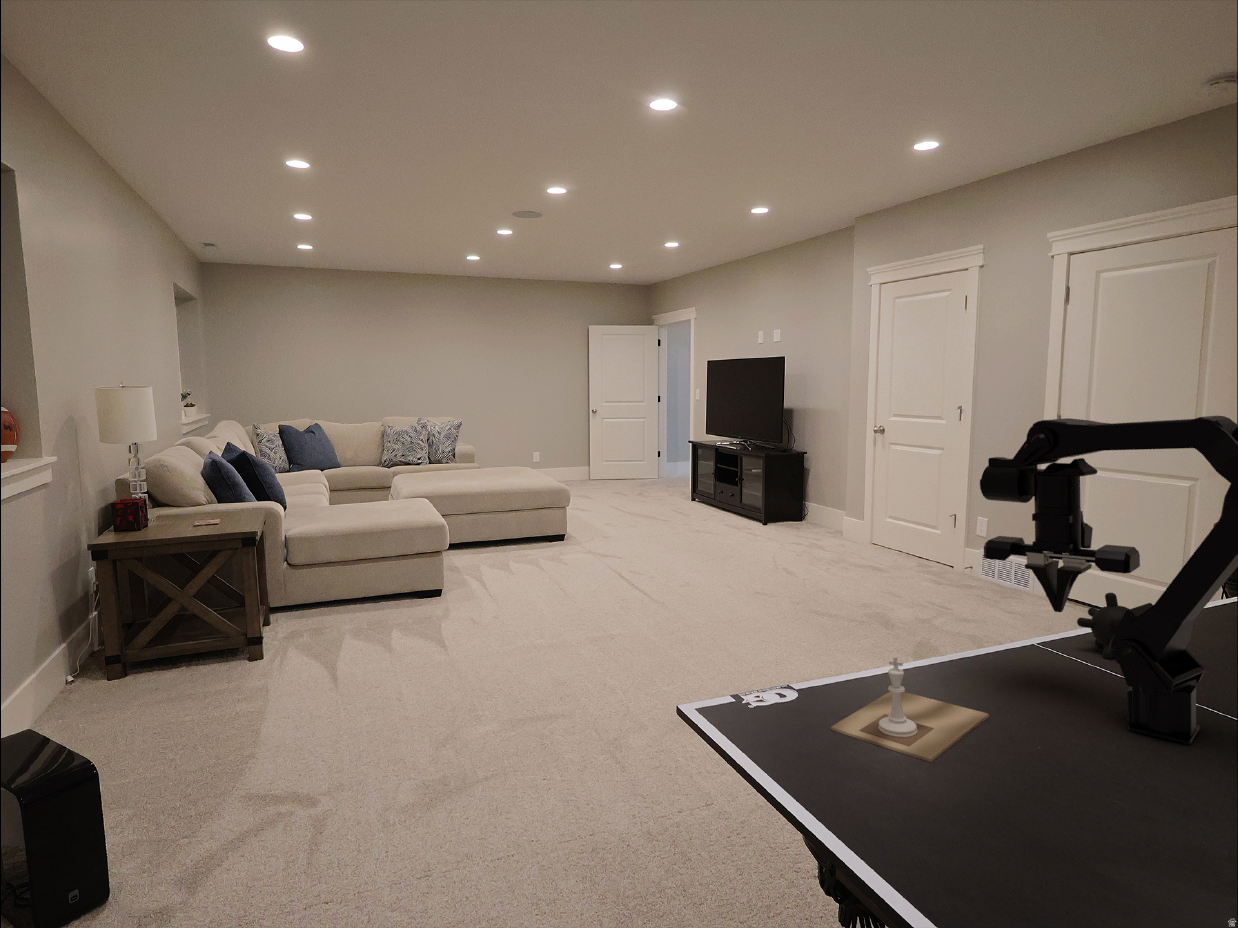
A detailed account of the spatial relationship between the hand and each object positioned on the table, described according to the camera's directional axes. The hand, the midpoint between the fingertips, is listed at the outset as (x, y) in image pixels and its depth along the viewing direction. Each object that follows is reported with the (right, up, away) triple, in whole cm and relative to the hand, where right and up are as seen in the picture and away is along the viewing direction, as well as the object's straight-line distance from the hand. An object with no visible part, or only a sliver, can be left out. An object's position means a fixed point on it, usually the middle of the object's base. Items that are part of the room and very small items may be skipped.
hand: (1058, 611), depth 105 cm
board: (-24, -15, -5) cm, 28 cm away
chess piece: (-27, -15, -8) cm, 31 cm away
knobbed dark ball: (+21, -11, +18) cm, 30 cm away
